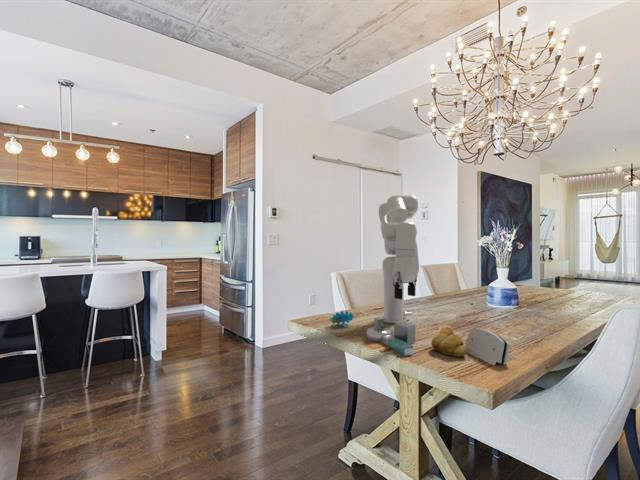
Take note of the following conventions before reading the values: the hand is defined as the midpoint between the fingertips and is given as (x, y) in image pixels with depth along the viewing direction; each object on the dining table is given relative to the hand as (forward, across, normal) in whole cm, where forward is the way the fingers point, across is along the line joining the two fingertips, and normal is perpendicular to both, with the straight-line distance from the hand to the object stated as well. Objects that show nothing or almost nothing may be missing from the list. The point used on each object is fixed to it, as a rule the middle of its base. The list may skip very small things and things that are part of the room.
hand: (405, 297), depth 132 cm
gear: (+18, 0, -33) cm, 38 cm away
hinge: (+18, -7, +28) cm, 34 cm away
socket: (+18, 0, 0) cm, 18 cm away
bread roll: (+18, -1, +17) cm, 25 cm away
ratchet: (+18, +6, -3) cm, 19 cm away
